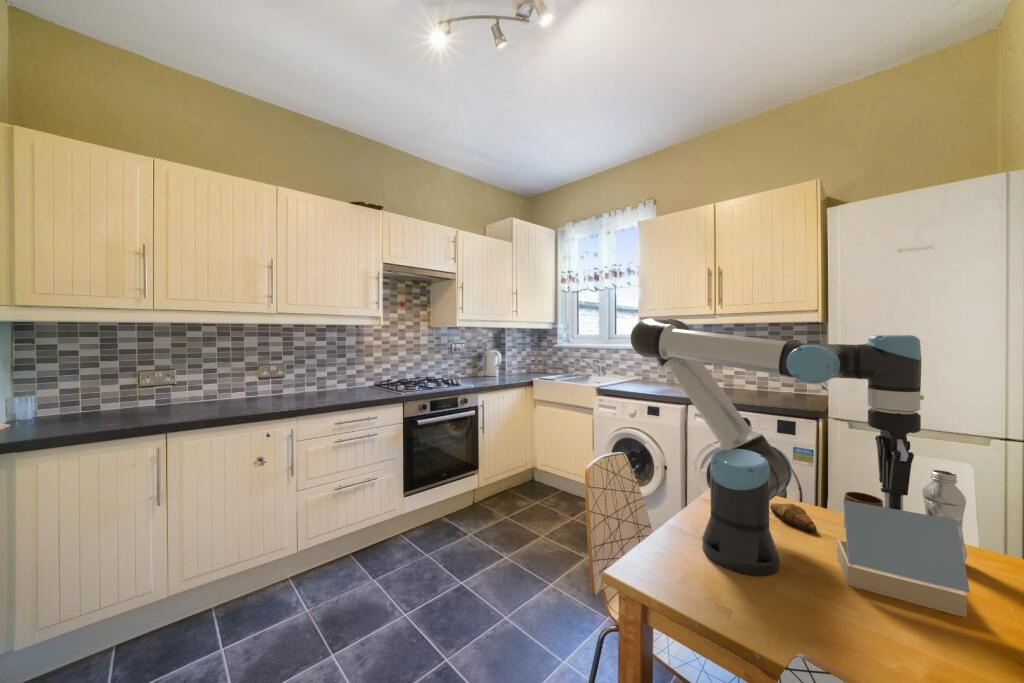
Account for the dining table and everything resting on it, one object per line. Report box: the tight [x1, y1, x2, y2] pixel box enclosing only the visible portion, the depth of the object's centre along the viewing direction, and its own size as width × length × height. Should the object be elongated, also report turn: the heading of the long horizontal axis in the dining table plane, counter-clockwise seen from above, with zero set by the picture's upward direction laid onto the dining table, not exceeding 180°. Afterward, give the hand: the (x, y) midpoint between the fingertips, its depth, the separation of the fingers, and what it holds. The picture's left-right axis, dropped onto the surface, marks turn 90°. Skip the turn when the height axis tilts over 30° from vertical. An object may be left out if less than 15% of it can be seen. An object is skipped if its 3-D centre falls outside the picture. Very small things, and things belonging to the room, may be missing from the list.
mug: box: [843, 491, 883, 527], centre depth 92 cm, size 12×8×9 cm, turn 2°
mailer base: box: [836, 538, 968, 619], centre depth 75 cm, size 16×12×4 cm
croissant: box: [769, 503, 817, 533], centre depth 101 cm, size 14×7×5 cm, turn 6°
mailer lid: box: [842, 499, 971, 593], centre depth 72 cm, size 16×12×1 cm
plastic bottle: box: [921, 469, 968, 564], centre depth 83 cm, size 6×7×20 cm
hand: (892, 523), depth 76 cm, fingers closed
